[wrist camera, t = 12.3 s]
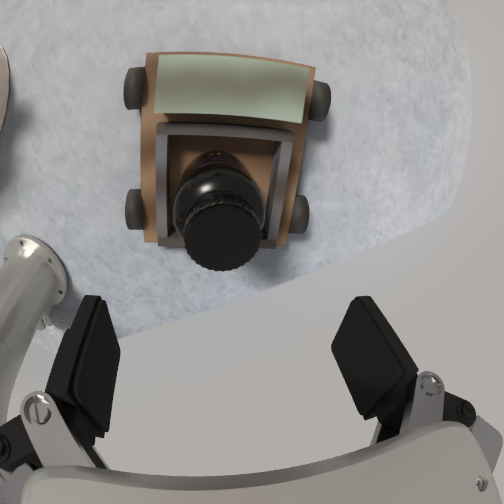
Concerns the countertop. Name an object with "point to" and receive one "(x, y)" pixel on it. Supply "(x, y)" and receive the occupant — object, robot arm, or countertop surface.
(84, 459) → the robot arm
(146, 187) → the toy truck
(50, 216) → the countertop surface
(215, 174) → the supplement bottle
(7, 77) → the kettle
